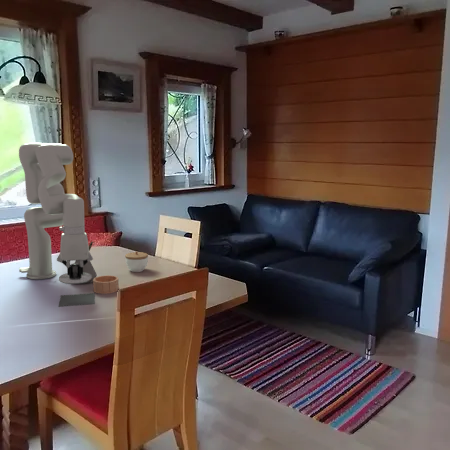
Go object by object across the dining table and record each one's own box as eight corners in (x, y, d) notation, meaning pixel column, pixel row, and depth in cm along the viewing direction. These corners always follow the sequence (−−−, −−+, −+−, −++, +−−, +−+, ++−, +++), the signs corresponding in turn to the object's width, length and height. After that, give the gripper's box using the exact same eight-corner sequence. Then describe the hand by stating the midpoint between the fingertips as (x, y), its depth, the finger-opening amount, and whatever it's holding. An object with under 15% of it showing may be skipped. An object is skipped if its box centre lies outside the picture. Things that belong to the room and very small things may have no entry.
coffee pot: (92, 286, 193) (91, 252, 191) (65, 285, 193) (64, 251, 191) (105, 272, 214) (104, 241, 212) (81, 271, 214) (80, 240, 212)
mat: (58, 307, 168) (58, 306, 168) (60, 296, 180) (60, 295, 180) (94, 304, 171) (94, 303, 171) (94, 293, 183) (94, 293, 183)
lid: (57, 284, 167) (57, 269, 166) (60, 274, 179) (59, 260, 178) (91, 283, 171) (91, 268, 170) (91, 273, 182) (91, 259, 181)
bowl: (93, 295, 182) (93, 283, 181) (93, 287, 191) (93, 276, 190) (119, 293, 185) (118, 281, 184) (117, 286, 194) (117, 274, 193)
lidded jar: (150, 267, 223) (150, 249, 222) (144, 273, 213) (144, 254, 211) (129, 266, 224) (129, 248, 223) (122, 272, 214) (122, 253, 212)
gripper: (50, 232, 165) (51, 280, 169) (96, 231, 169) (97, 278, 173) (51, 228, 172) (53, 274, 176) (96, 227, 176) (97, 272, 180)
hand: (75, 276), depth 175 cm, fingers closed on lid, 3 cm apart
